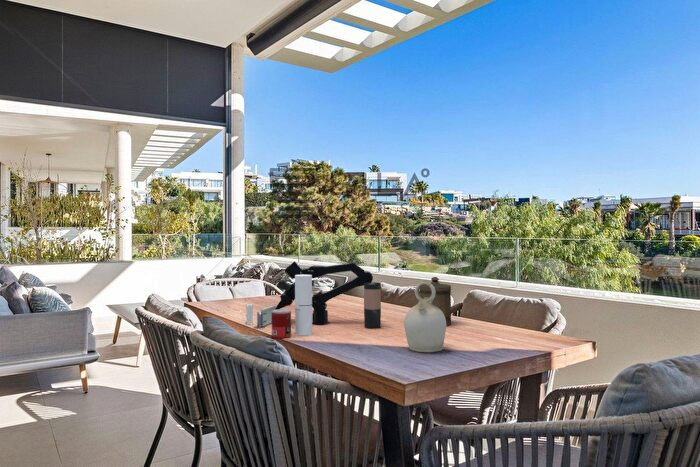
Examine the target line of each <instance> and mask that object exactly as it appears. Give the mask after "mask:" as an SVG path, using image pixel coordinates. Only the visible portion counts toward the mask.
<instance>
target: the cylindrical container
mask: <svg viewBox="0 0 700 467" xmlns="http://www.w3.org/2000/svg"><path fill="white" fill-rule="evenodd" d="M312 280H313V278H312V275H301V274H300V275H295V278H294V282H295V300H294V306H295V307H294V315H295V316H294V325H295V326H294V327H295V329H294V331H295V334H294V335H295V336H298V337H308V336H312V335H313V324H312V314H313V307H312V296H313V286H312Z"/></svg>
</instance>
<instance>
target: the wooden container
mask: <svg viewBox="0 0 700 467" xmlns="http://www.w3.org/2000/svg"><path fill="white" fill-rule="evenodd" d="M439 281H440V279H439V278H438V276H433V277H431V282H430V283H431V284H432V285H433V286H434V288H435V292H436V294H435V297H434V299H433V301H432V303H431V304H432V305H434V306H436V307H438V308H439V309H440V310H441V311H442V312H443V314H444V316H445V319H446V327H449V326H451V325H452V302H451V301H452V299H451V298H452V297H451V296H452V295H451V293H452V286H451V285H450V284H448V283H447V284H444V283H440V282H439ZM431 294H432V292H431V289H430V288H429V287H428V286H427V285H423V286H421V287H420V289H419V295H420V296H421V297H422V298H426V297H428V298H430V296H431Z"/></svg>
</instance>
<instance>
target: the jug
mask: <svg viewBox="0 0 700 467" xmlns="http://www.w3.org/2000/svg"><path fill="white" fill-rule="evenodd" d="M423 285H427V286H428V287H429V288H430V289H431V292H432V294H431V296H430V298H428V297H426V298H422V297H421V296H420V295H419V291H420V290H419V289H420V287H421V286H423ZM435 294H436V292H435V288H434V286H433V285H432V284H431V282H430V281H426V280H423V281H421V282H419V283H418V284H416V286H415V288H414V295H415V298H416V299H417V300H418V303H417V304H415V305H414V306H412V307H411V308H410V309H408V310H407V312H406V313H405V317H404V321H403V326H404V327H403V328H404V332H405V337H406V342H407V345H408V349H409V350H410V351H413V352H417V353H425V354H426V353H427V354H428V353H438V352H440V351H442V350H443V346H444V343H445V338H446V331H447V326H446V319H445V316H444V314H443V312H442V311H441V310H440V309H439V308H438V307H436V306H434V305H432V304H431V303H432V301H433V299H434V297H435Z"/></svg>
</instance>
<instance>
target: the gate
mask: <svg viewBox="0 0 700 467" xmlns="http://www.w3.org/2000/svg"><path fill="white" fill-rule="evenodd" d="M276 307H277V305H270V306H267V307H263V308H260V312H263V326H266V325H268V324H272V310H275V308H276Z"/></svg>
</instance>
